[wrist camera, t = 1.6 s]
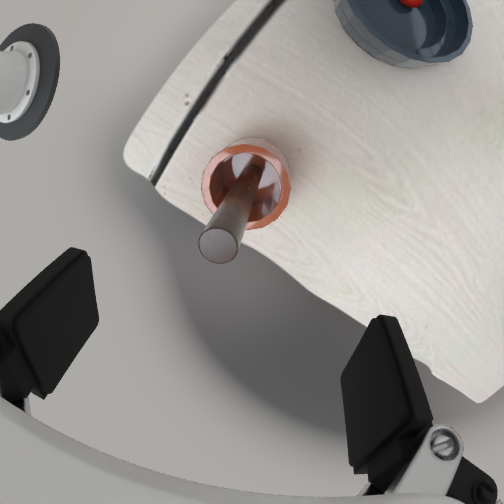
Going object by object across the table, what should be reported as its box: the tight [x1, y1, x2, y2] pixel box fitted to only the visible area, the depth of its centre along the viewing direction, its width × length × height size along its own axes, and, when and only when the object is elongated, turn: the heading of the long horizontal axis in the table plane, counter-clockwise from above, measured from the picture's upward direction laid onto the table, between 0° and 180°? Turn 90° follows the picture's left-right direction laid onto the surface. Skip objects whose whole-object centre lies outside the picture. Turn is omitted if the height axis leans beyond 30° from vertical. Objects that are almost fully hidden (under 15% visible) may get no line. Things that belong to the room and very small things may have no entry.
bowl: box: [334, 0, 473, 68], centre depth 19 cm, size 14×14×6 cm
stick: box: [199, 164, 262, 264], centre depth 24 cm, size 2×2×18 cm
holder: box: [201, 137, 291, 230], centre depth 30 cm, size 8×8×7 cm
